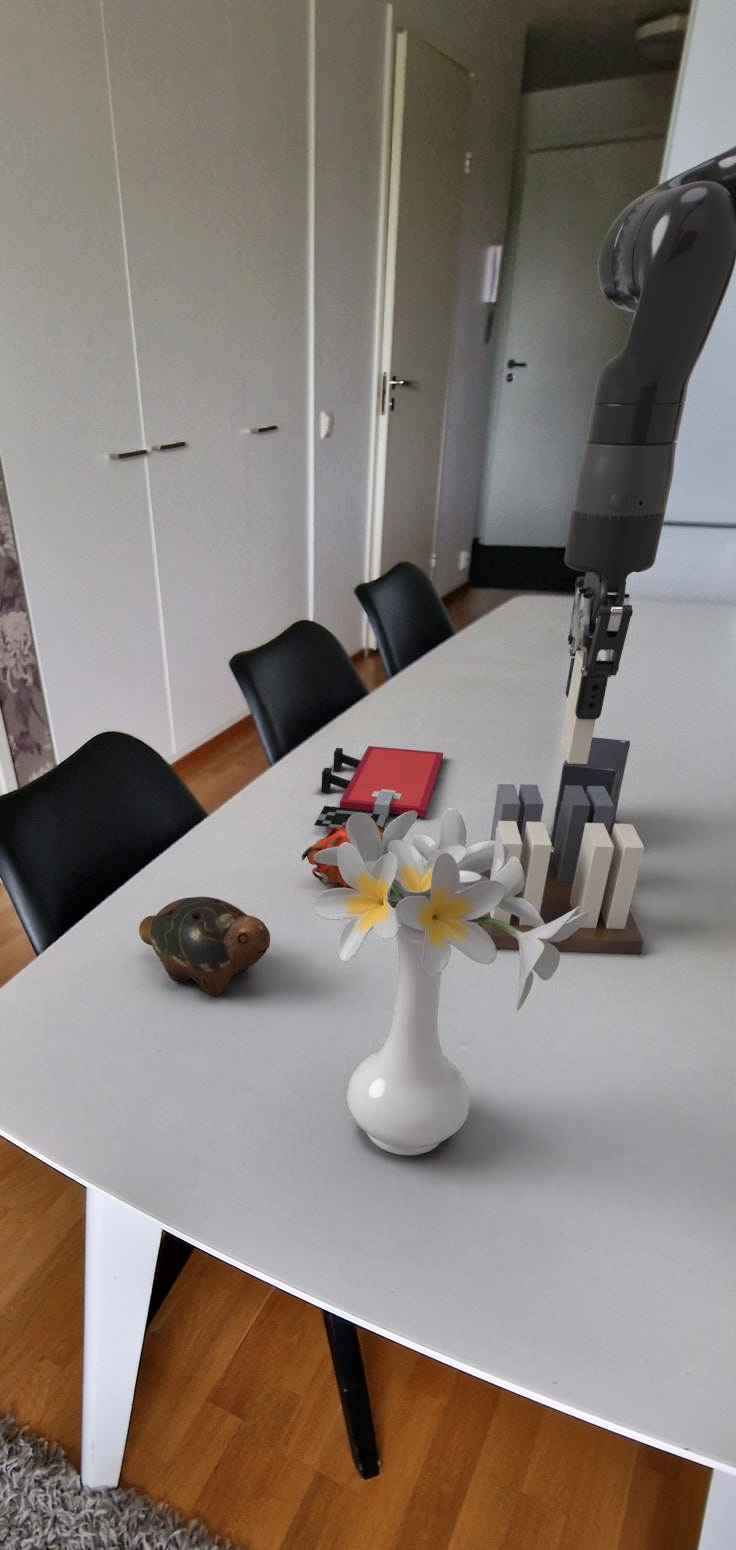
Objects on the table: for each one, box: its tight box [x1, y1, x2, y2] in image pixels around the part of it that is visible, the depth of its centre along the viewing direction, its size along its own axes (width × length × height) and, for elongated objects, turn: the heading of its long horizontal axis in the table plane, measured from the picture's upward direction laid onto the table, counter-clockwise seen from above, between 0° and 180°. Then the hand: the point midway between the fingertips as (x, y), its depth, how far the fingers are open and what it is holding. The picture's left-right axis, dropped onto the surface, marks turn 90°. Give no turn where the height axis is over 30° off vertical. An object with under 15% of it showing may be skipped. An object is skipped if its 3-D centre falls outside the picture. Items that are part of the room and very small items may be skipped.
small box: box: [550, 736, 631, 846], centre depth 112 cm, size 11×6×10 cm, turn 154°
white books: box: [490, 821, 645, 929], centre depth 93 cm, size 13×6×9 cm, turn 83°
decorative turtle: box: [138, 896, 271, 997], centre depth 89 cm, size 10×15×8 cm, turn 61°
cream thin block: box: [559, 650, 603, 764], centre depth 88 cm, size 2×6×9 cm, turn 173°
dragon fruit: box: [301, 822, 399, 889], centre depth 103 cm, size 8×8×12 cm
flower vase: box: [312, 807, 590, 1157], centre depth 65 cm, size 13×18×25 cm
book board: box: [473, 851, 645, 955], centre depth 100 cm, size 16×20×2 cm
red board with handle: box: [313, 745, 444, 828], centre depth 126 cm, size 30×3×15 cm
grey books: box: [489, 783, 614, 882], centre depth 101 cm, size 11×6×9 cm, turn 83°
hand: (581, 707), depth 88 cm, fingers closed on cream thin block, 5 cm apart
